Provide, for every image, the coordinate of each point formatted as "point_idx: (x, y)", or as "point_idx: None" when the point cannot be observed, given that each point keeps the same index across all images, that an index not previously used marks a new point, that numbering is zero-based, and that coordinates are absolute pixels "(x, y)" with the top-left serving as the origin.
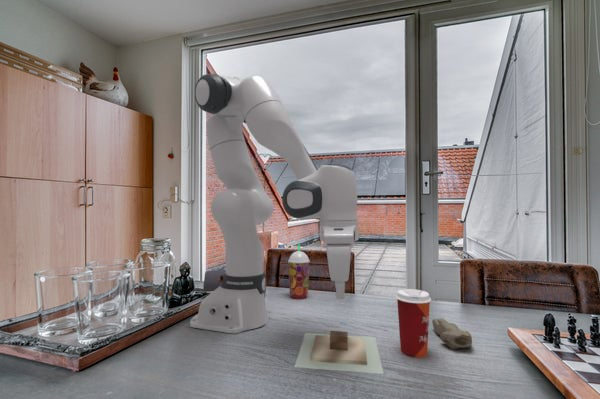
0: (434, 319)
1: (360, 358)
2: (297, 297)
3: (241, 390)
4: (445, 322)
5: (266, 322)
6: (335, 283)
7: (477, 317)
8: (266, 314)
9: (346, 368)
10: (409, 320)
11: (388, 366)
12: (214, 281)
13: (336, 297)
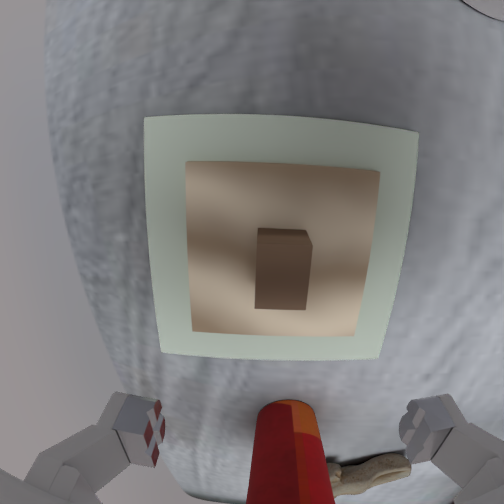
0: (405, 469)
1: (206, 317)
2: None
3: (52, 32)
4: (363, 488)
5: (475, 6)
6: (39, 458)
7: (432, 486)
8: (499, 4)
9: (163, 272)
10: (253, 484)
11: (213, 366)
12: None
13: (112, 394)
